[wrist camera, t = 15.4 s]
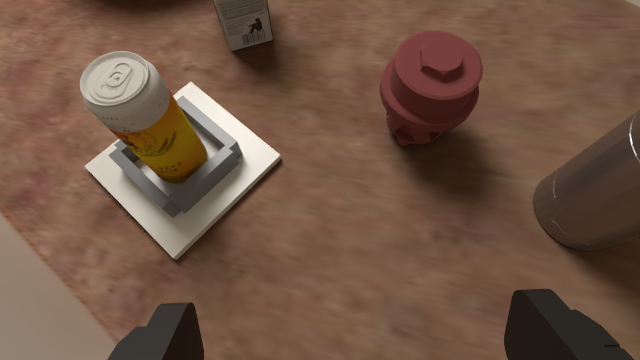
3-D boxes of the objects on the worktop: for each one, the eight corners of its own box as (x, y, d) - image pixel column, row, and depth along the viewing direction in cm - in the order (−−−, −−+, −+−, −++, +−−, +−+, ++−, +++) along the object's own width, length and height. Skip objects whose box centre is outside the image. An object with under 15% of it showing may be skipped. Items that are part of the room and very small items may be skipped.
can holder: (193, 86, 48) (182, 65, 44) (281, 158, 44) (277, 142, 40) (89, 169, 43) (67, 154, 40) (176, 260, 39) (161, 252, 35)
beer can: (146, 177, 42) (58, 97, 28) (172, 133, 44) (102, 39, 30) (194, 193, 41) (127, 119, 27) (218, 147, 43) (167, 58, 29)
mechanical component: (466, 115, 46) (431, 176, 43) (395, 80, 48) (357, 137, 45) (513, 41, 35) (471, 118, 31) (417, 1, 37) (368, 68, 33)
